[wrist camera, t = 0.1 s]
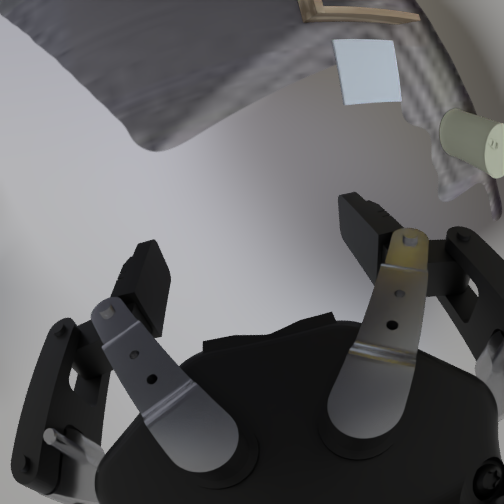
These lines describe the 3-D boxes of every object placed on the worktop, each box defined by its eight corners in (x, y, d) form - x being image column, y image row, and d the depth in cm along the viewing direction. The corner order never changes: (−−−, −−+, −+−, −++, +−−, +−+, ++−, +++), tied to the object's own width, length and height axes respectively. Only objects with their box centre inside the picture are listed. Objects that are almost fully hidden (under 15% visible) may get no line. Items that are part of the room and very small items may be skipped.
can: (447, 99, 35) (496, 113, 25) (475, 121, 37) (521, 139, 27) (433, 145, 40) (480, 168, 30) (462, 163, 42) (505, 187, 32)
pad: (331, 40, 30) (333, 39, 30) (390, 40, 30) (392, 40, 30) (343, 104, 36) (345, 105, 35) (399, 100, 36) (401, 101, 35)
